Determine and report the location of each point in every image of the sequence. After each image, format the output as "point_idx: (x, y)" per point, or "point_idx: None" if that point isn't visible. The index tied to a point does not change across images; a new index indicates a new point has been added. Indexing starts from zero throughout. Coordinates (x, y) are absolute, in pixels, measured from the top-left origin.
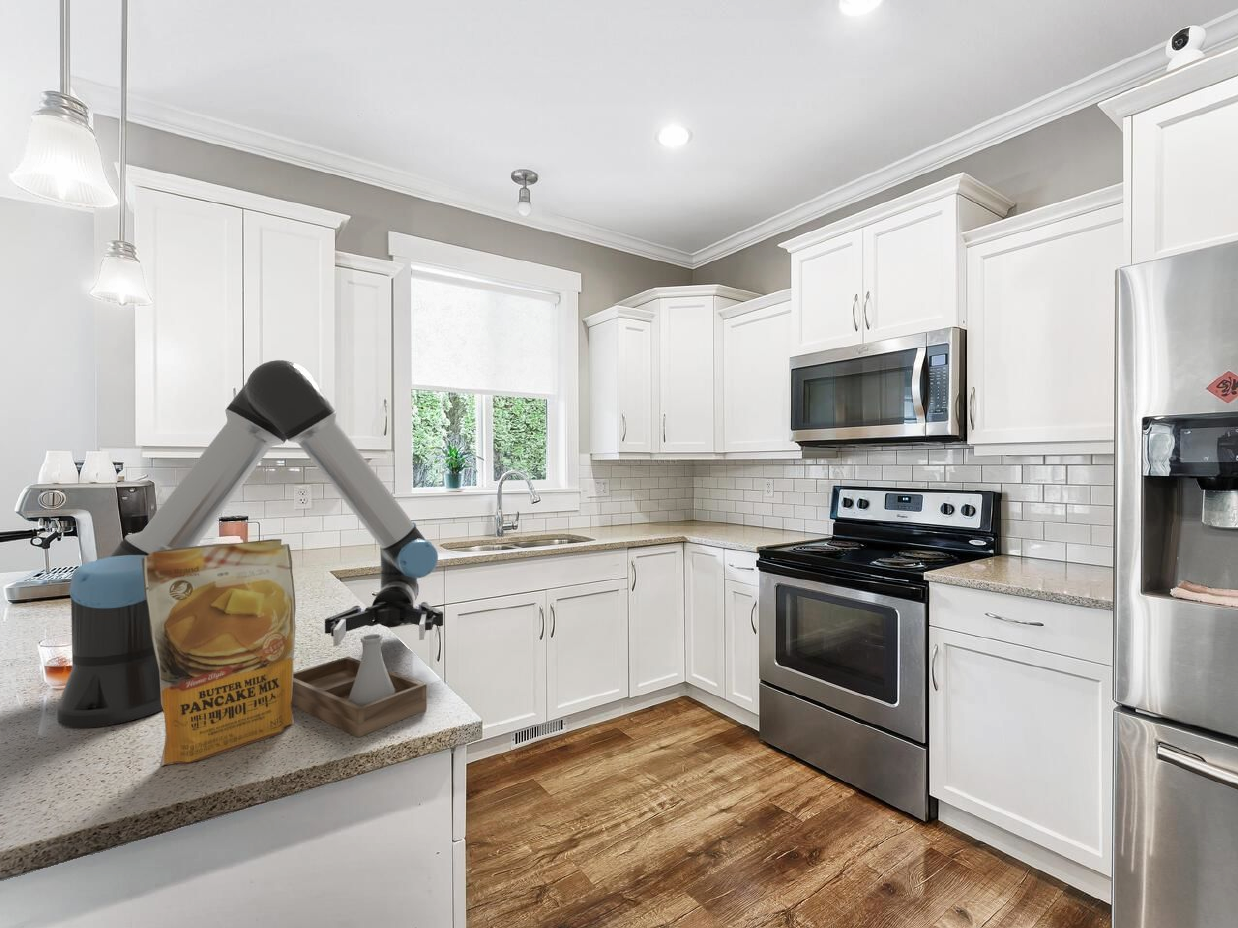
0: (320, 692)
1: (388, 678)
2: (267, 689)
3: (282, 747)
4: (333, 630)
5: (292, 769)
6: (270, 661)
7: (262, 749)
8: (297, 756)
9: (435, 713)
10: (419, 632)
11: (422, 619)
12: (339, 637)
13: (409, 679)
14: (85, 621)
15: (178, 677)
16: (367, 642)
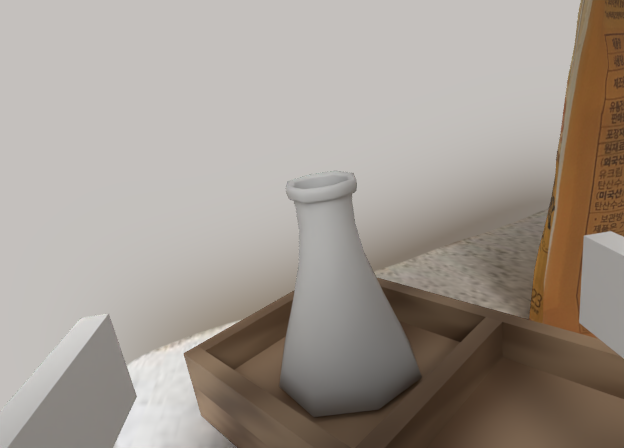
0: (486, 309)
1: (290, 319)
2: (549, 211)
3: (475, 292)
4: (609, 233)
5: (409, 262)
6: (558, 152)
7: (509, 287)
8: (425, 279)
9: (182, 397)
10: (122, 359)
11: (32, 395)
12: (602, 303)
13: (231, 380)
14: None
15: None
16: (327, 180)
